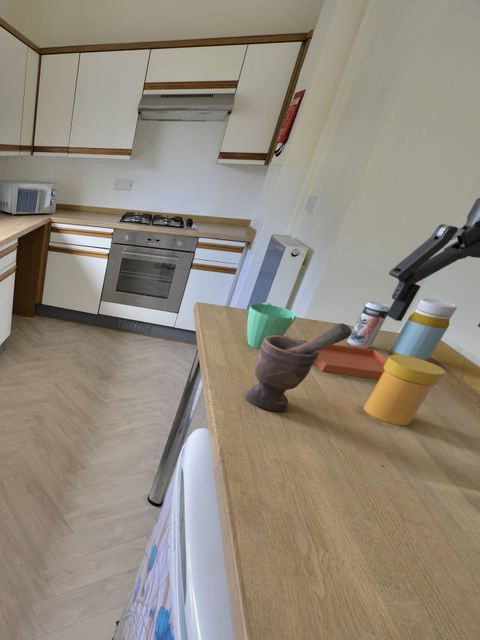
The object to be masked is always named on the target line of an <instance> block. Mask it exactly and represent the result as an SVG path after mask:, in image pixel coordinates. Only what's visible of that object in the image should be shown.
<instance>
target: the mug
mask: <svg viewBox="0 0 480 640" xmlns="http://www.w3.org/2000/svg"><path fill="white" fill-rule="evenodd" d="M296 318H297V314H296V313H295V312H293V311H291V310H289V309H287V308H284V307H280V306H277V305H273V304H271V303H269V302H263V303H255V304H254V303H252V304H250V306H249V310H248V315H247V323H246V324H247V326H246V327H247V328H246V329H247V331H246V332H247V334H246V336H247V344H248V346H250V347H251V348H254V349H257V350H260V348H261V346H262V343H263V341H264V339H265V338H266V337H267V336H271V335H282V336H285V334H286V333H287V331H288V330H289V329H290V327H291V326H292V325H293V323H294V322H295V320H296Z"/></svg>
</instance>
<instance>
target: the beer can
mask: <svg viewBox="0 0 480 640" xmlns="http://www.w3.org/2000/svg"><path fill="white" fill-rule="evenodd" d="M390 308H391V307H390V305H389V304H386V303H384V302H383V303H382V302H379V301H369V302H367V303H366V304H365V305H364V307H363V309H362V311H361V313H360V315H359V317H358V319H357V321H356V323H355V325H354V326H353V329H352V330H351V331H352V334H351V335H350V336H349V337H348V338H347V343H348V344H349V346H351V347H358V348H365V349H371V347H372V345H373V343H374V341H375V339H376V338H377V335H378V334H379V332H380V330H381V329H382V326H383V324H384V322H385V321H386V318H387V317H388V316H387V313H388V311H389V310H390Z"/></svg>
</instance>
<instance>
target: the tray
mask: <svg viewBox="0 0 480 640" xmlns="http://www.w3.org/2000/svg"><path fill="white" fill-rule="evenodd" d="M299 340H300V341H303V342H306V343H307V342H308V341H309V340H304V339H299ZM318 351H319V355H318V357H317V358H316V360H315V362H314V363H313V365H315V366H316V367H317V368H318V369H319V370H320V371H321V372H322V373H323V372H325V373H331V374H337V375H344V376H351V377H357V378H363V379H364V378H365V379H370V380H371V379H372V380H377V381H378V380H379V379H380V377H381V375H382V373H383V372H384V365H385V363H386V361H387V360H388V358H389V357H388V358H387V356H385V355H384V354H382V353H380V352H379V351H378V350H376V349H372V348H366V349H365V348H358V347H354V346H351V345H341V344H336V343H335V344H332V345H330V346H327V347H325V348H322V349H320V350H318Z"/></svg>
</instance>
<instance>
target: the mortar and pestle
mask: <svg viewBox="0 0 480 640" xmlns="http://www.w3.org/2000/svg"><path fill="white" fill-rule="evenodd" d="M352 331H353V330H352V328H351V327H350V326H349V325H347V324H345V323H343V322H342V323H336V324H333V325H332V326H330V327H327V328H326V329H325V330H323V331H322V332H320V333H319V334H317V335H315V336H314V337H313V338H311V339H309V340H307V341H308V342H307V343H306V342H303V341H300V340H301V339H297V338H293V337H291V336H286V335H283V336H282V335H271V336H267V337H266V338H265V339H264V341H263V343H262V346H261V348H260V349H259V351H258V354H257V356H256V359H255V364H254V376H255V378H256V379H257V381H258V383H257V384H256V385H253V386H250V387H249V388H248V389H247V390H246V391H245V393H244V398H245V399H246V401H247V402H249V403H250V404H252V405H254V406H256V407H257V408H260V409H264V410H268V411H273V412H281V413H282V412H285V411H287V410H288V406H289V399H288V397H287V396H286V394H285V393H286V391H287V390H293V389H295V388H297V387H298V386H299V385H300V384H301V383H302V382H303V381H304V380H305V379H306V378H307V376H308V375H309V373H310V371H311V369H312V367H313V365H314V362H315V360H316V358H317V357H318V355H319V351H318V350H320V349H322V348H325V347H327V346H330V345H332V344H335V345H336V344H338V343H340V342H342V341H345V340H346V339H349V337H350V335H351V334H352Z"/></svg>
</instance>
